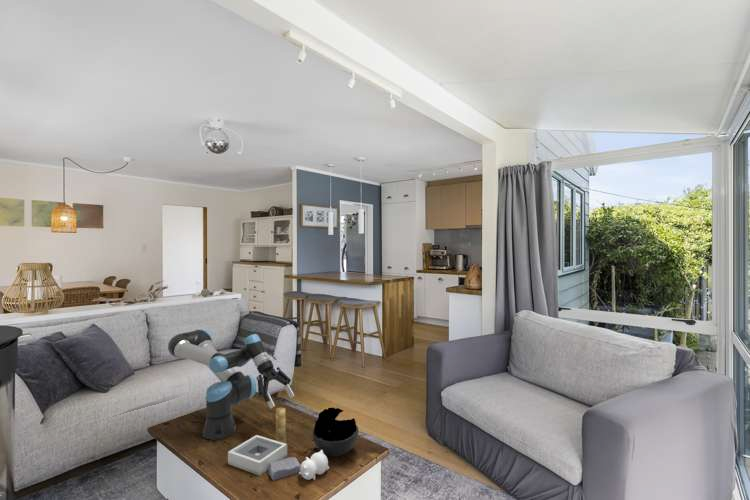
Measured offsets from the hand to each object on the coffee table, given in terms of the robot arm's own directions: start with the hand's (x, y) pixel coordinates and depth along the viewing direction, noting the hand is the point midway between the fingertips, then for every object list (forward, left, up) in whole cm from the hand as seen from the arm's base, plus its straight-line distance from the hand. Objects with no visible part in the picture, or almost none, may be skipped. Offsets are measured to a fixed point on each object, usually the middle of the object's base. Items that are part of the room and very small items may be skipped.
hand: (282, 401), depth 180 cm
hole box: (+6, -22, -15) cm, 28 cm away
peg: (+6, -8, -15) cm, 18 cm away
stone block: (+21, -23, -16) cm, 35 cm away
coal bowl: (+33, -3, -16) cm, 37 cm away
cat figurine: (+34, -20, -16) cm, 42 cm away
